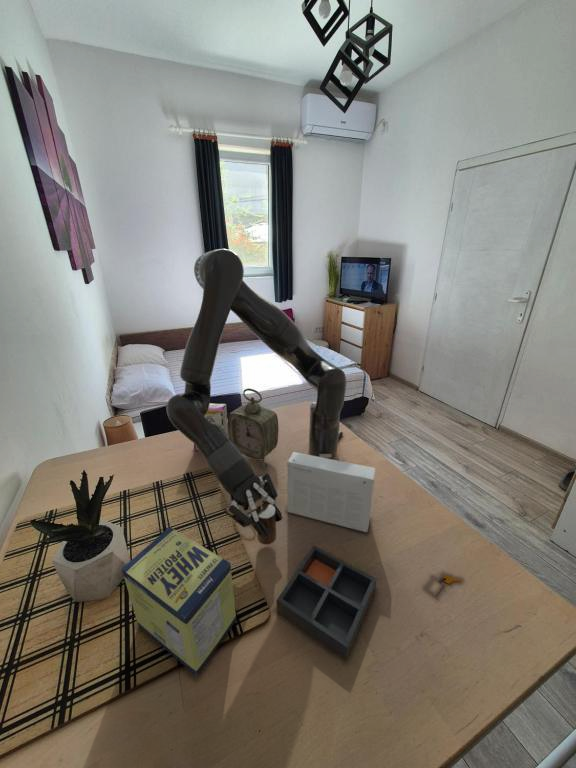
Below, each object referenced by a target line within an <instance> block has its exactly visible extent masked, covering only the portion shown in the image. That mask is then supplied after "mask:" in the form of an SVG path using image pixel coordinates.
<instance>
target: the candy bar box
mask: <svg viewBox="0 0 576 768" xmlns="http://www.w3.org/2000/svg"><path fill="white" fill-rule="evenodd" d="M227 409H228V408H227V404H226V403H211V402H210V404H209V408H208V411H207V413H206V414H205V416H204V417H205V418H206V419H207V420H208V421H209V422H213V423H217V424H218V425H219V426H220V427H221V428H222V429H223V430H224V432H225V433H226V435H227V436H228V437H229V435H228V413H227V412H228V411H227ZM193 448H194V449H193V450H194V451H199V450H198V448H197V447H196V445H195V444H194V443H193Z"/></svg>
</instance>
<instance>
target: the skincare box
mask: <svg viewBox="0 0 576 768" xmlns="http://www.w3.org/2000/svg"><path fill="white" fill-rule="evenodd" d="M286 463H287V464H286V465H287V479H286V481H287V482H286V493H287V496H286V497H287V499H286V502H287V505H286V512H287V513H290V514H294V515H298V516H301V517H306V518H309V519H312V520H317V521H321V522H323V523H324V522H325V523H329V524H332V525H336V526H341V527H344V528H348V529H352V530H356V531H360V532H363V533H368V532H369V526H370V519H371V511H372V504H373V495H374V488H375V487H374V486H375V479H376V478H375V477H376V469H377V468H376V467H372V466H368V465H367V466H366V465H362V464H357V463H351V462H347V461H342V460H338V459H337V460H332V459H327V458H322V457H317V456H312V455H309V454H306V453H301V452H296V451H293V452H292V453H291V455H290V457H289V459H288V460H287V462H286Z"/></svg>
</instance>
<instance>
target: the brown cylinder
mask: <svg viewBox="0 0 576 768" xmlns="http://www.w3.org/2000/svg"><path fill="white" fill-rule="evenodd" d="M256 512H257V515H258V517H259V520H261V521H262V522H263V524H264V525H265V526H266V528H267V529H268V531H269V532H270V533H269V535H268V536H266V537H263V536H260V535H259V534H258V533H257V532H256V537H257V541H258V542H259V543H260V544H262V545H271V544H273V543H274V542H275V541H276V539H277V522H276V510H275V507H274V506H273V505H271V504H262V503H261V504H260V505H258V506H256Z"/></svg>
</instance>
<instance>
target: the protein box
mask: <svg viewBox="0 0 576 768" xmlns="http://www.w3.org/2000/svg"><path fill="white" fill-rule="evenodd" d="M231 565H232V564H231V562H229V561H228V560H227V559H225V558H223V557H221V556H220V555H218V554H216V553H214V552H213V551H211V550H209V549H208V548H206V547H204V546H202V545H201V544H200V543H198V542H196V541H194V540H192V539H191V538H189V537H188V536H186V535H184V534H182V533H181V532H179V531H177V530H176V529H174V528H173V527H171V526H169V527H167V528H166V529H165V530H164V531H163V532H162V533H161V534H160V535H158V536H157V537H155V539H154V540H153V541H152V542H150V543H149V544H148V545H146V547H145V548H143V549H142V550H141V551H140V552H139V553H138V554H136V555H135V556H134V557H133V558H132V559H131V560H130V561H128V562H127V563H126V564H125V565H124V566H122V567H121V571H122V575H123V579H124V583H125V586H126V590H127V592H128V597H129V599H130V602H131V606H132V609H133V613H134V617H135V619H136V622H137V626H138V628H140V629H141V630H142V631H143V632H145V633H146V634H147V635H148V636H149V637H151V639H153V640H154V641H155V642H156V643H157V644H158V645H160V646H161V647H162V648H163V649H165V650H166V651H167V652H168V653H169V654H170V655H171V656H173V657H174V658H175V659H176V660H177V661H178V662H180V663H181V664H182V665H183V666H184V667H185V668H186V669H188V670H189V671H190V672H191V673H192V674H194V675H195V676H197V677H198V676H199V674H200V673H201V672H202V670H203V669H204V668H205V666H206V665H207V663H208V662H209V661H210V659H211V658H212V656H213V654H215V652H216V650H217V649H218V648H219V646H220V645H221V643H222V642H223V640H224V639H225V638H226V636H227V635H228V633H229V632H230V630H231V629H232V628H233V626H234V625H235V623H236V621H237V619H238V618H237V613H236V612H237V611H236V604H235V595H234V594H235V593H234V584H233V575H232V574H233V573H232V566H231Z"/></svg>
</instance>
